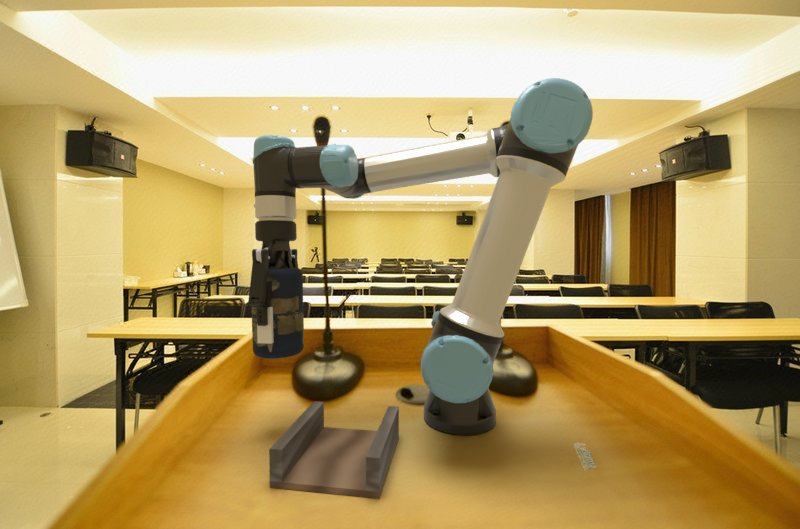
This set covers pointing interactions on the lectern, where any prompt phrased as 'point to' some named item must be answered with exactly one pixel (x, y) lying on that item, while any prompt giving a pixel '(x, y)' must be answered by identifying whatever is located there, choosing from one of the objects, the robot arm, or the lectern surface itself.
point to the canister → (283, 315)
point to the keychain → (584, 456)
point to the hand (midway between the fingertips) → (278, 336)
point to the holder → (333, 455)
